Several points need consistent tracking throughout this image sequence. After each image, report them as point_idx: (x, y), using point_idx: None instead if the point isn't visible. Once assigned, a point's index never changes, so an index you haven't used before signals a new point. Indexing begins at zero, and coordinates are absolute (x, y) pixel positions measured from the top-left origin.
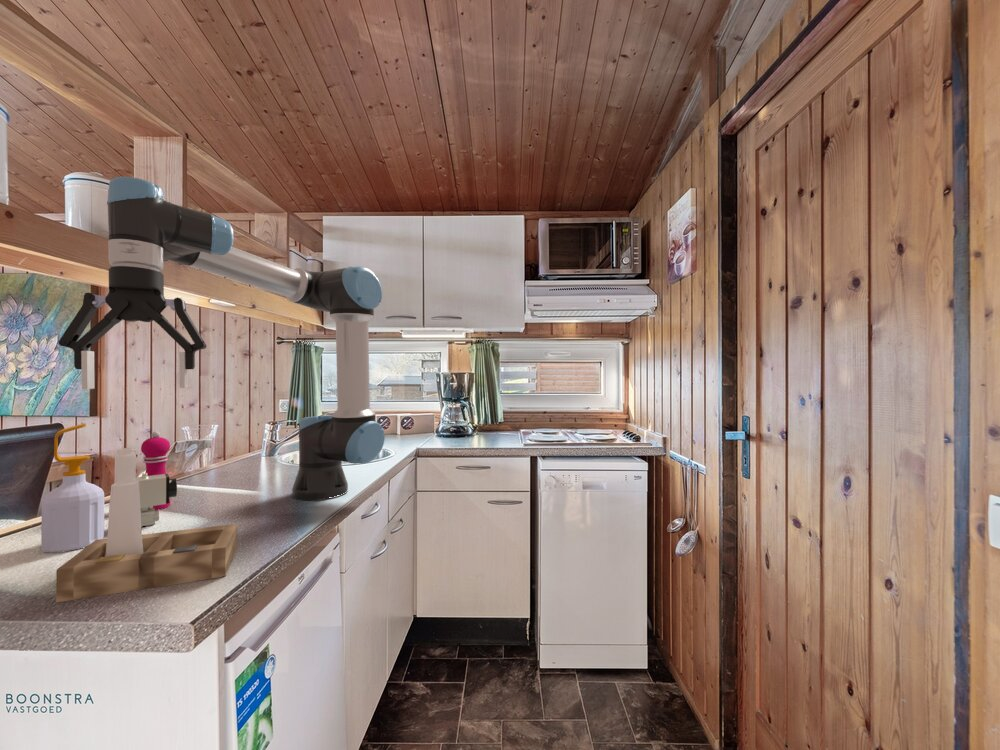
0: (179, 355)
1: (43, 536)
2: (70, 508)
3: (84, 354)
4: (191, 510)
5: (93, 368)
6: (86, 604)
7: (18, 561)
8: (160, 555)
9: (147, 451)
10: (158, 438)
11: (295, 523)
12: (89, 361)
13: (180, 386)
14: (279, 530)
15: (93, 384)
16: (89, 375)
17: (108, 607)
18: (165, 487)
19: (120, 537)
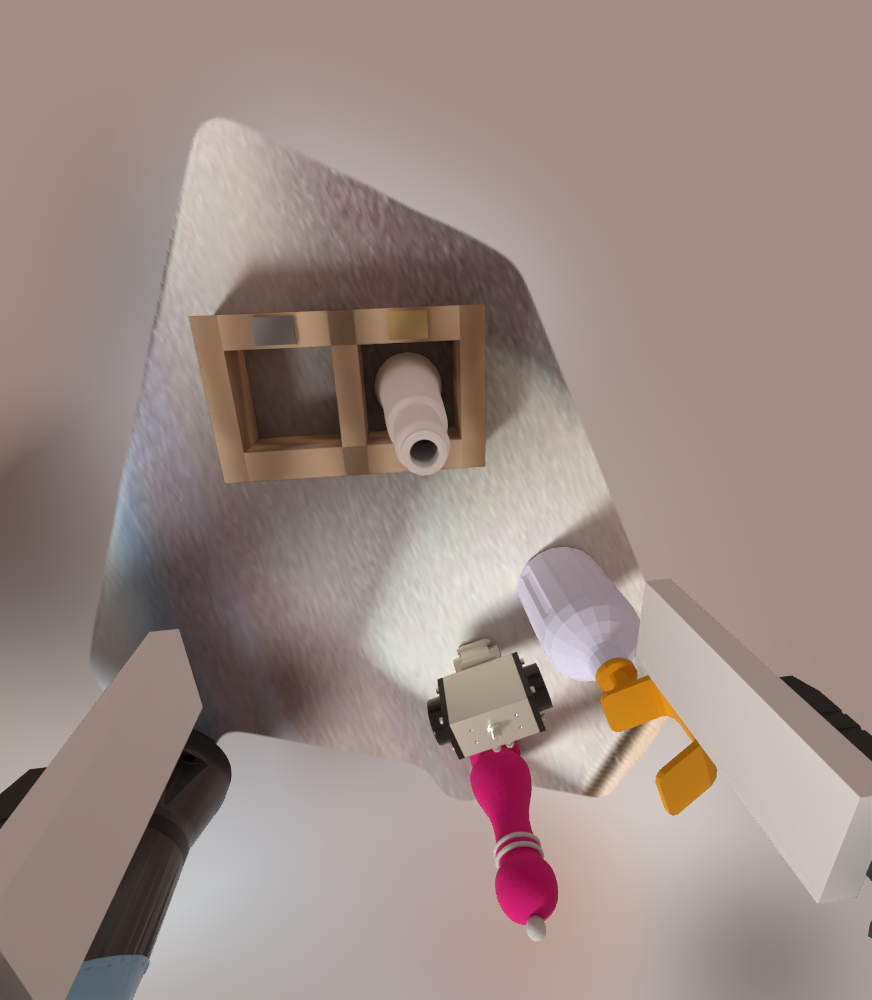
0: (13, 872)
1: (600, 568)
2: (578, 590)
3: (844, 759)
4: (418, 716)
5: (712, 746)
6: (421, 276)
7: (609, 524)
8: (316, 314)
9: (535, 860)
10: (524, 910)
11: (163, 584)
12: (763, 740)
13: (169, 634)
14: (186, 549)
15: (649, 664)
16: (690, 658)
17: (378, 246)
18: (447, 705)
19: (408, 371)
